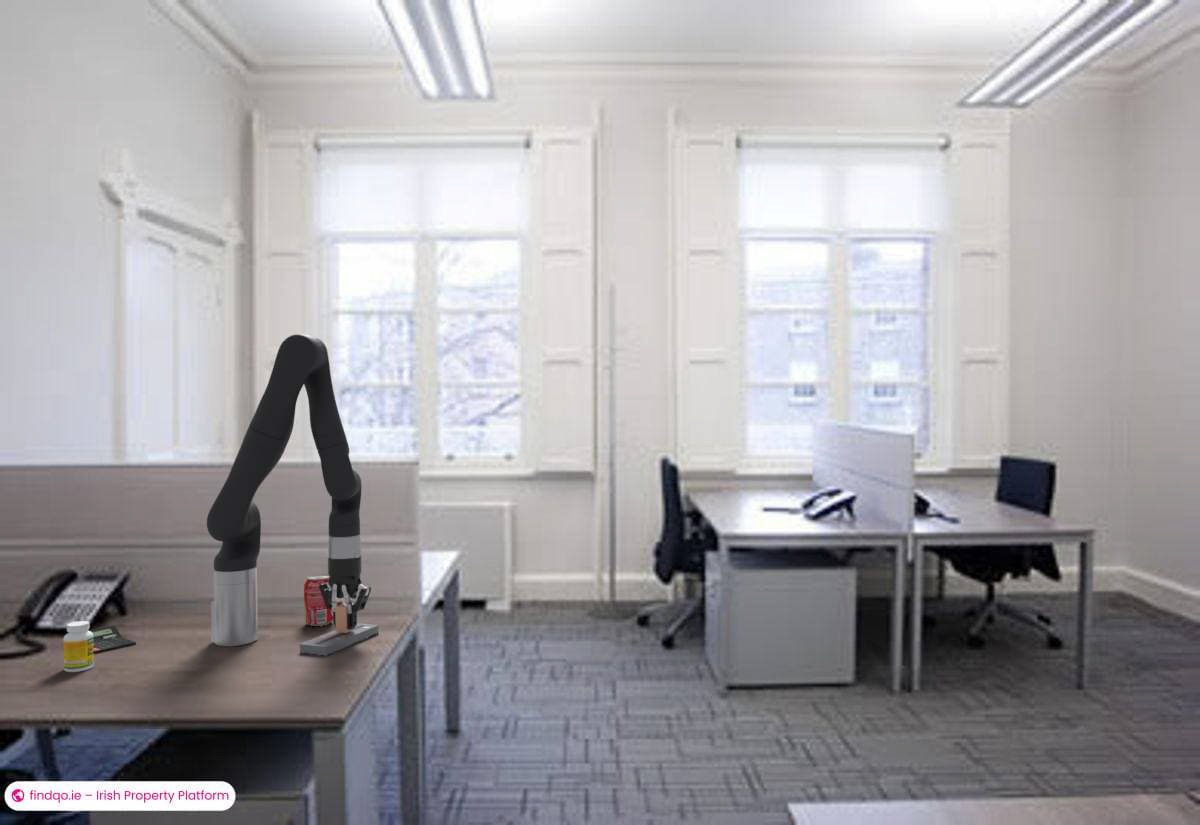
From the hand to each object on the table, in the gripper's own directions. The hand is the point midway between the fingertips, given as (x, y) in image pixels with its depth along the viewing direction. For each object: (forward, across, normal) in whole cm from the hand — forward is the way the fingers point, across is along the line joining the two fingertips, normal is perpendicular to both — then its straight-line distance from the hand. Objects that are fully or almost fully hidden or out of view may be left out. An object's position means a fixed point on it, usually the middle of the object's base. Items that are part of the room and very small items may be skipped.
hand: (345, 627), depth 193 cm
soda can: (+3, -16, +10) cm, 19 cm away
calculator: (+4, -51, -22) cm, 56 cm away
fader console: (+3, 0, -2) cm, 4 cm away
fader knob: (+1, 0, 0) cm, 1 cm away
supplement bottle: (+4, -40, -36) cm, 54 cm away
